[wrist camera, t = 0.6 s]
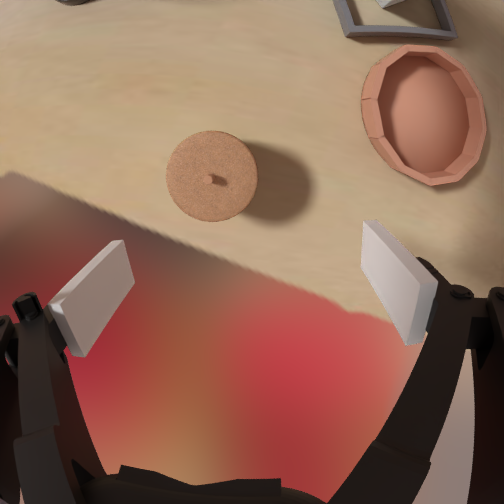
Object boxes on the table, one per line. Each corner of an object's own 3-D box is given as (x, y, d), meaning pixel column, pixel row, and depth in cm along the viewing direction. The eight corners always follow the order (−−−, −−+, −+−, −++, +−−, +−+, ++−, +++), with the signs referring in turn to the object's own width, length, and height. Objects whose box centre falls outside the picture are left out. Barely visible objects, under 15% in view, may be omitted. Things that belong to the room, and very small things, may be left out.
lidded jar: (225, 220, 43) (215, 244, 34) (167, 174, 40) (143, 187, 32) (275, 164, 39) (278, 174, 31) (214, 114, 37) (201, 111, 28)
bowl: (346, 52, 32) (355, 44, 28) (455, 54, 30) (471, 50, 26) (373, 186, 40) (385, 193, 36) (474, 171, 37) (490, 176, 33)
